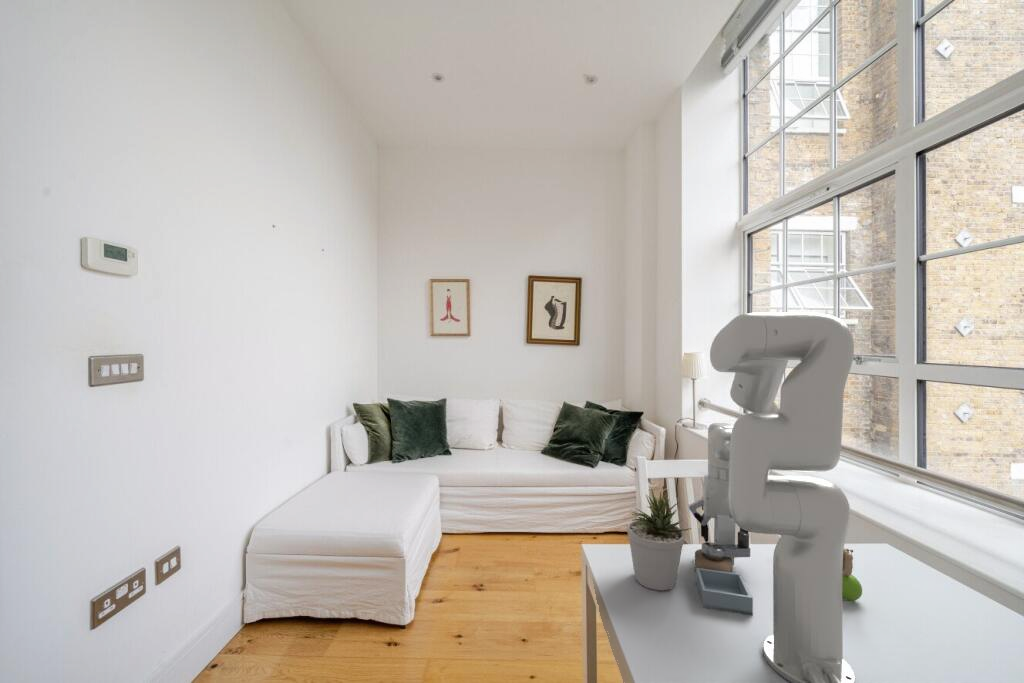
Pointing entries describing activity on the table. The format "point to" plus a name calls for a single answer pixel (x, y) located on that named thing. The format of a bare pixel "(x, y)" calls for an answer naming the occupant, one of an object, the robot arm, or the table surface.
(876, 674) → the table surface
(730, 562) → the crank pedestal
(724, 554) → the crank
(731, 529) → the skincare box
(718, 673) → the table surface
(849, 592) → the snail figurine
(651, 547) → the potted plant
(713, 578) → the tray
